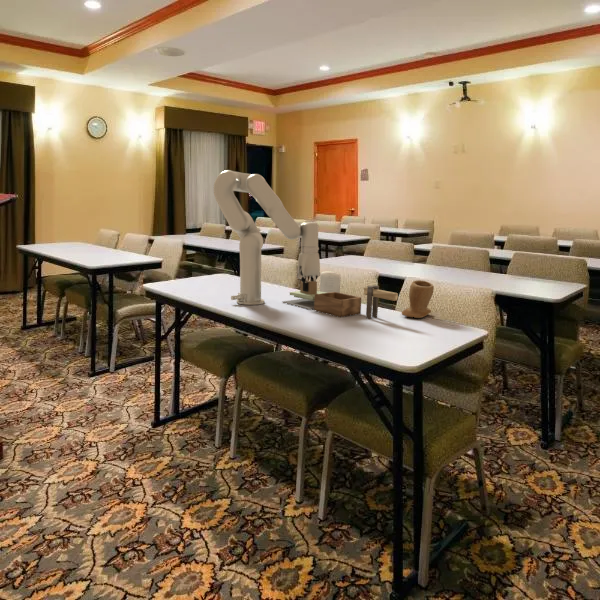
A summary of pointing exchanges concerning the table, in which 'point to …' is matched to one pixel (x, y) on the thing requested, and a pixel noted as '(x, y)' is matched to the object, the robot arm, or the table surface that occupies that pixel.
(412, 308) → the stone cup
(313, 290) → the lid
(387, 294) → the tan wooden bar
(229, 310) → the table surface
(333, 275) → the photo printer
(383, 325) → the table surface
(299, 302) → the mat
